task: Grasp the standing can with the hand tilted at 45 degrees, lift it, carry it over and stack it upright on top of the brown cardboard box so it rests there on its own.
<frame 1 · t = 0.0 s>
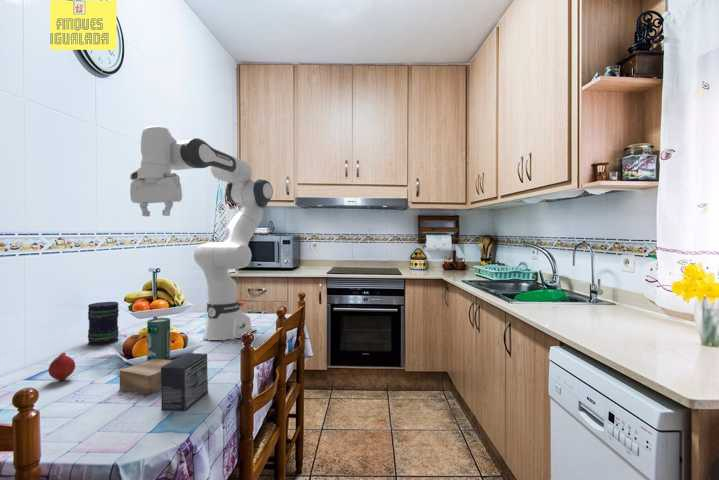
hand: (156, 216, 122), 48 cm above the table, tool pointing down, fingers open, 8 cm apart
can: (158, 368, 114), on the table
small box: (185, 402, 90), on the table
storage jar: (103, 342, 142), on the table
brown cardboard box: (152, 384, 101), on the table
onion: (62, 381, 103), on the table
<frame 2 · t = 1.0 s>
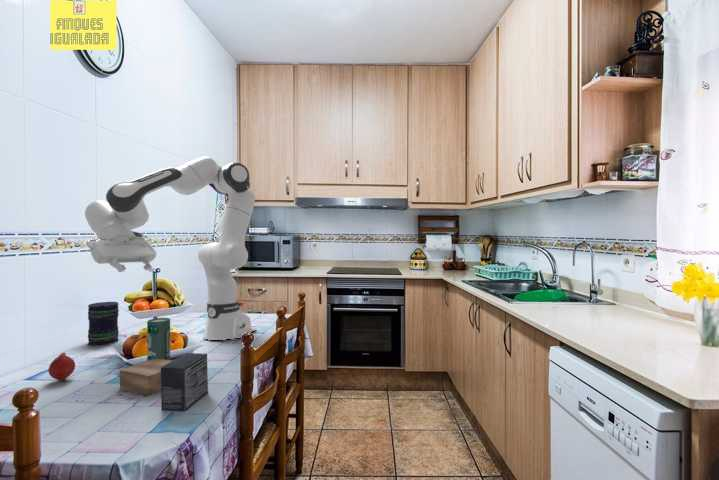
hand: (136, 269, 120), 30 cm above the table, tool tilted 45°, fingers open, 8 cm apart
nothing on the table moved.
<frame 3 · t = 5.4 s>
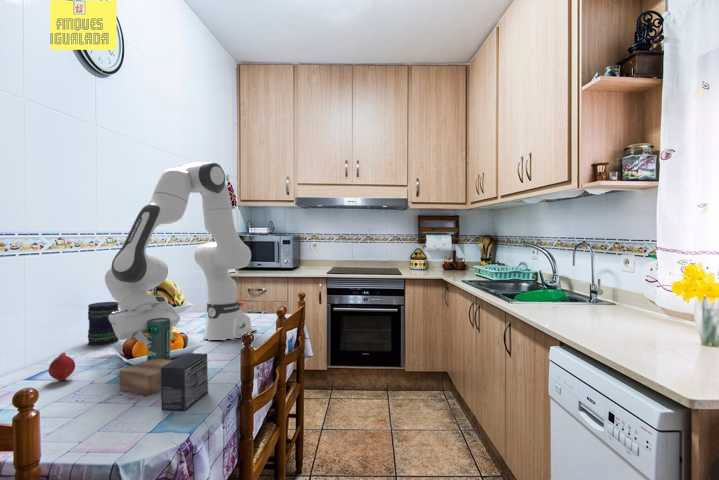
hand: (160, 341, 113), 8 cm above the table, tool tilted 45°, fingers closed on can, 6 cm apart
can: (158, 368, 114), on the table, touching gripper
everything else where it was.
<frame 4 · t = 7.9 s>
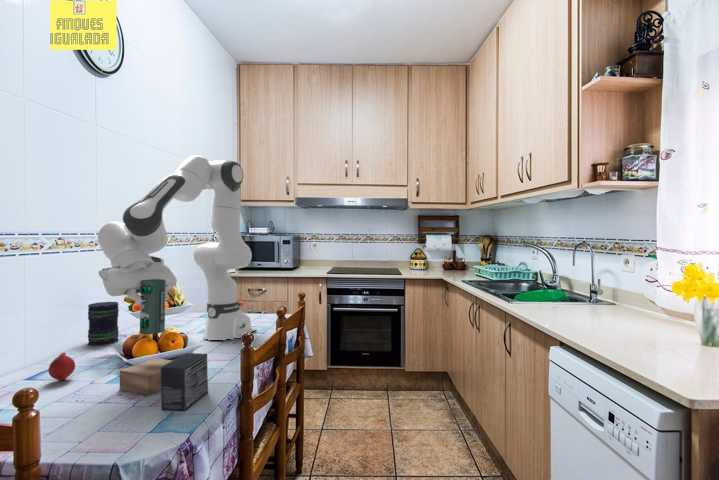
hand: (154, 301, 106), 22 cm above the table, tool tilted 45°, fingers closed on can, 6 cm apart
can: (152, 332, 106), point 13 cm above the table, touching gripper
everything else where it was.
when the fingers open (15 cm above the table, at t = 10.4 s): can stays where it is, resting on brown cardboard box.
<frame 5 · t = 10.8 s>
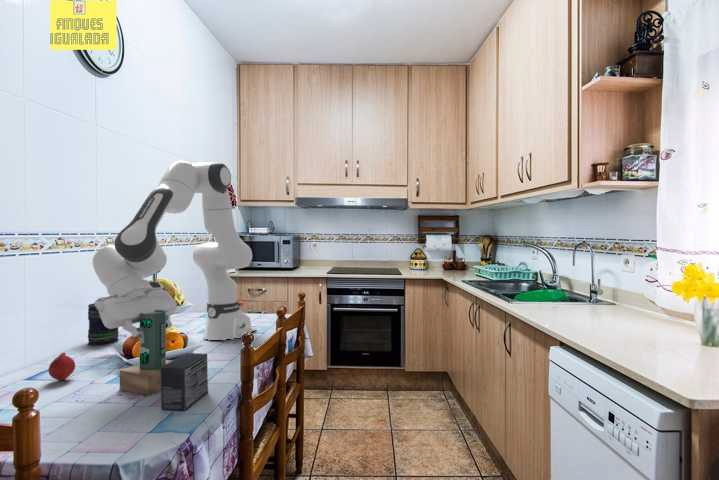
hand: (154, 331, 100), 15 cm above the table, tool tilted 45°, fingers open, 8 cm apart
can: (153, 366, 101), point 5 cm above the table, touching brown cardboard box
everything else where it was.
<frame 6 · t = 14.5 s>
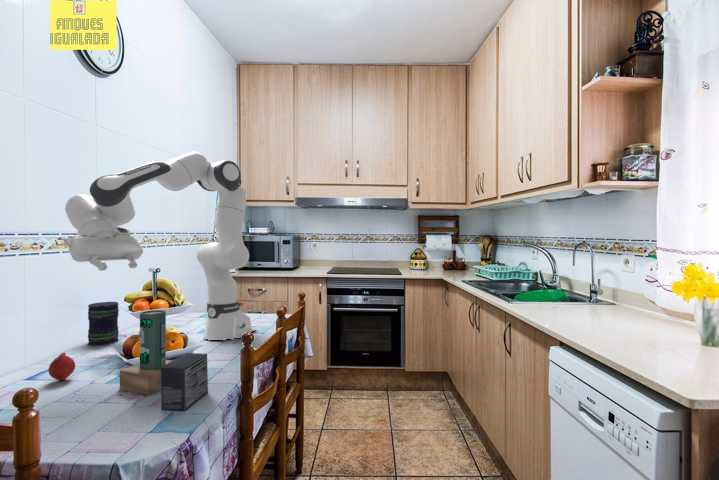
hand: (119, 267, 112), 31 cm above the table, tool tilted 45°, fingers open, 8 cm apart
nothing on the table moved.
at the end: can inside the target area on the brown cardboard box (0.1 cm from its centre), point 4.8 cm above the brown cardboard box's base; can tilted 0°; the gripper is holding nothing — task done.
